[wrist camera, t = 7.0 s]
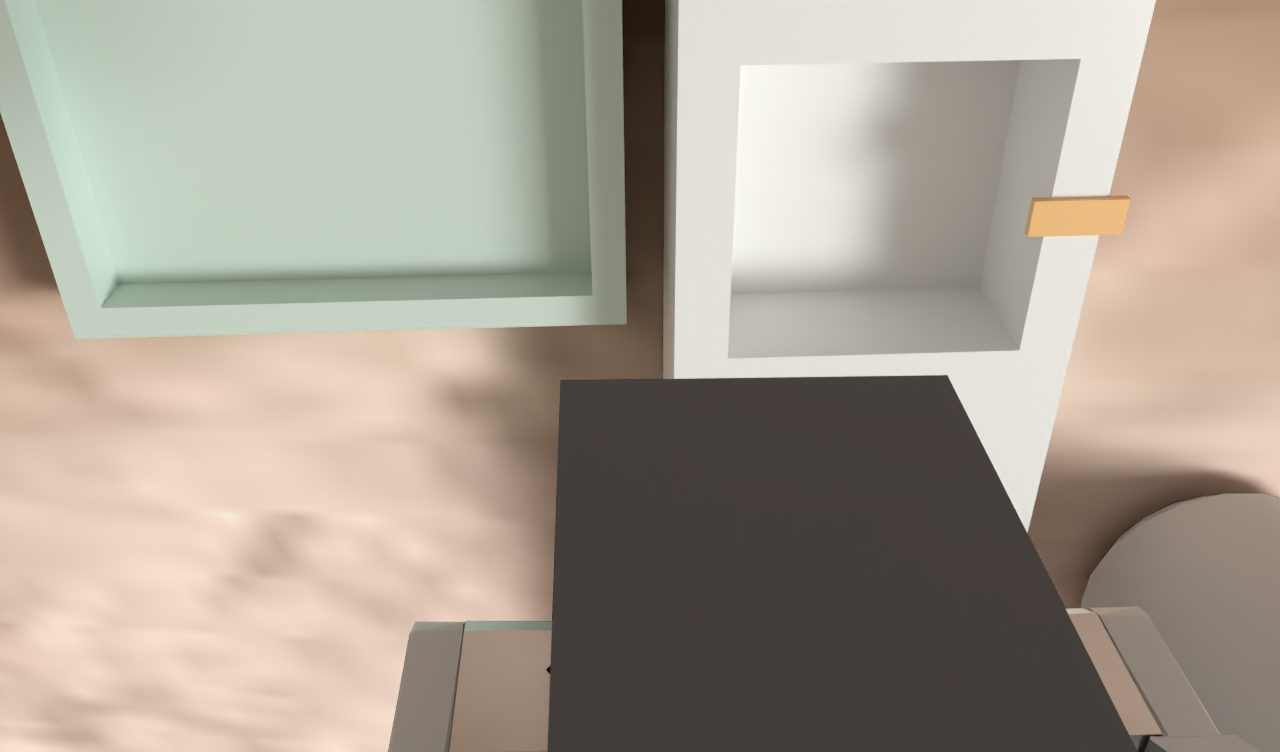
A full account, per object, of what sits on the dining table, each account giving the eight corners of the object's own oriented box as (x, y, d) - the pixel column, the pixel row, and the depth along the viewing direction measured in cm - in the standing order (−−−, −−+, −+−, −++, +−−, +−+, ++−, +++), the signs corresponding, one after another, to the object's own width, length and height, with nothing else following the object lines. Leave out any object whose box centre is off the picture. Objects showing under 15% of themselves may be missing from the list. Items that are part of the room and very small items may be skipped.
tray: (-81, -314, 21) (-140, -313, 19) (614, -320, 21) (617, -318, 19) (106, 298, 28) (75, 338, 26) (624, 284, 28) (627, 324, 26)
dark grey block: (560, 380, 12) (540, 936, 7) (947, 375, 12) (1219, 913, 7) (569, 654, 14) (560, 1225, 9) (894, 647, 14) (1070, 1204, 9)
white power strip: (666, -175, 22) (683, -141, 19) (1121, -181, 23) (1232, -148, 19) (660, 758, 38) (669, 881, 34) (930, 747, 38) (968, 868, 35)
